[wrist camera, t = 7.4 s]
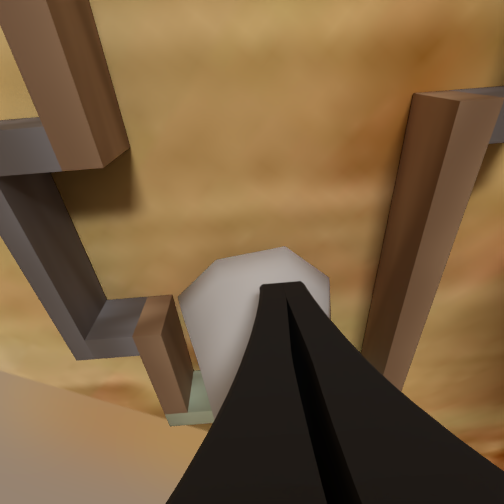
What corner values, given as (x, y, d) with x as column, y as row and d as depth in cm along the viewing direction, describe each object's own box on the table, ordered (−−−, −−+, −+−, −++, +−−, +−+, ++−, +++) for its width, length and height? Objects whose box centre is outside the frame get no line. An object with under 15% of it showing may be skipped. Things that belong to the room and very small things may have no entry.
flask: (234, 359, 17) (240, 634, 10) (149, 288, 13) (43, 674, 6) (351, 315, 15) (474, 617, 8) (294, 216, 11) (440, 658, 4)
